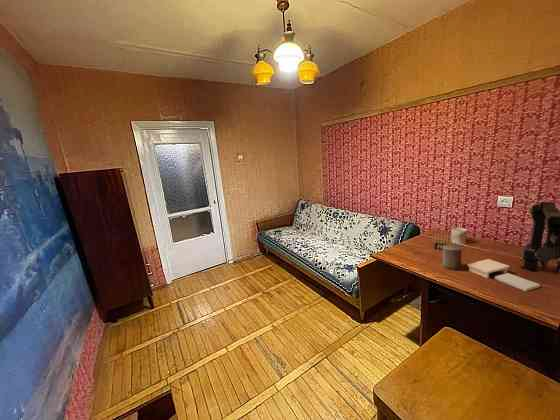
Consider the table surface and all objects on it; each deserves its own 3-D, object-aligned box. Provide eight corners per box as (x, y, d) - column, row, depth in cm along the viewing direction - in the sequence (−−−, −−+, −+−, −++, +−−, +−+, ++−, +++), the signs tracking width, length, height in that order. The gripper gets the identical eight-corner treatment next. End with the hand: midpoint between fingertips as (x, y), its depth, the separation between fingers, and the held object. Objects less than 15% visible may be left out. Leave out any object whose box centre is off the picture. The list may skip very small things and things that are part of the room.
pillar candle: (464, 269, 143) (466, 246, 141) (451, 271, 142) (452, 248, 139) (451, 263, 153) (452, 241, 150) (438, 265, 151) (439, 243, 149)
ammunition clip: (451, 250, 172) (452, 235, 169) (451, 251, 170) (452, 235, 168) (434, 248, 178) (434, 233, 175) (434, 249, 176) (434, 234, 174)
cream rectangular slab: (487, 265, 145) (488, 258, 144) (508, 272, 134) (509, 265, 134) (467, 270, 141) (467, 264, 140) (487, 278, 131) (487, 271, 130)
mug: (447, 240, 190) (447, 228, 188) (460, 239, 191) (461, 226, 189) (458, 245, 179) (458, 231, 177) (471, 243, 181) (472, 229, 178)
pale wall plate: (507, 276, 132) (507, 272, 132) (539, 287, 119) (539, 284, 119) (494, 279, 130) (494, 276, 130) (525, 292, 117) (526, 288, 116)
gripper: (518, 238, 114) (514, 267, 117) (573, 251, 96) (567, 285, 99) (533, 235, 117) (530, 263, 120) (590, 247, 99) (584, 279, 102)
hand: (550, 272), depth 110 cm, fingers open, 4 cm apart
